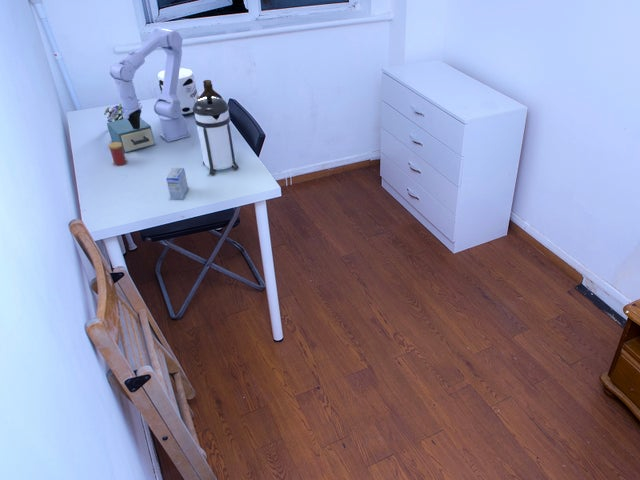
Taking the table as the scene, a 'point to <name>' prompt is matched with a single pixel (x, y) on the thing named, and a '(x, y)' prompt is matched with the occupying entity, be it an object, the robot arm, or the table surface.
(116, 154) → the tea tin
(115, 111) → the passion flower
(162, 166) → the table surface
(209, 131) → the coffee press
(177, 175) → the medicine box
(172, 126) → the robot arm
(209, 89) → the olive oil
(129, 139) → the drawer
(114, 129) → the cabinet
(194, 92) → the milk container
